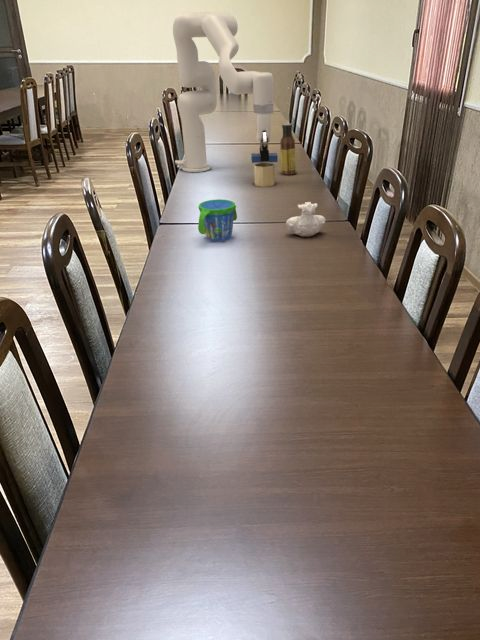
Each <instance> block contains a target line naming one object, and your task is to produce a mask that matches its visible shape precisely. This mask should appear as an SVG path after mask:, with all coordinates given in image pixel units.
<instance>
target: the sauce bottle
mask: <svg viewBox="0 0 480 640" xmlns="http://www.w3.org/2000/svg"><path fill="white" fill-rule="evenodd" d="M281 128H282V137H281V139H280V142H279V143H280V170H281V171H280V172H281V174H282V175H284V176H285V175H286V176H292V175H295V174H296V173H297V170H296V169H297V165H296V164H297V162H296V160H297V159H296V141H295V139H294V136H293V123H282V125H281Z"/></svg>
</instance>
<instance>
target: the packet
mask: <svg viewBox="0 0 480 640" xmlns="http://www.w3.org/2000/svg"><path fill="white" fill-rule="evenodd" d="M250 155H251V157H250V159H251V163H253V164H257V163H278V162H279V161H278V159H279V157H278V153H277V152H269V161H264V162H261V157H260V152H258V153H250Z"/></svg>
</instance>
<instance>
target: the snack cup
mask: <svg viewBox="0 0 480 640" xmlns="http://www.w3.org/2000/svg"><path fill="white" fill-rule="evenodd" d="M197 208H198V210H199V217H198V224H197V230H198V233H199V234H200V235H205V237H206V238H207V240H209V241H211V242H225V241H228V240H230V239H232V236H233V228H234V222H235V221H237V219H238V213H237V205H236V202H235V201H233V200H230V199H221V198H220V199H219V198H217V199H208V200H205V201H202V202H201V203H199V204H198V207H197Z"/></svg>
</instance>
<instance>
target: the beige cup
mask: <svg viewBox="0 0 480 640" xmlns="http://www.w3.org/2000/svg"><path fill="white" fill-rule="evenodd" d="M275 169H276V167H275V163H274V162H266V163H254V164H253V174H254V186H256V187H263V188H267V187H272V186H275V185H276V183H275V182H276V178H275V177H276V173H275V171H276V170H275Z"/></svg>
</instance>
